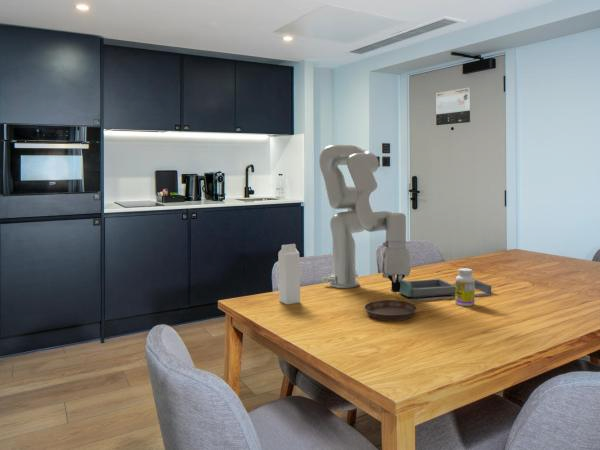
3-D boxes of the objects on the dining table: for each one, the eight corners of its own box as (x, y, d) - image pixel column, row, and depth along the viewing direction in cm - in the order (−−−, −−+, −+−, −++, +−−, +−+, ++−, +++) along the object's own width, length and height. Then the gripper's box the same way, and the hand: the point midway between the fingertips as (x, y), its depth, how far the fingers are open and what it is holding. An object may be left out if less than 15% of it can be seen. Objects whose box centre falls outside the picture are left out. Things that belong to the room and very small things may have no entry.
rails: (409, 301, 187) (409, 294, 187) (390, 290, 205) (390, 283, 205) (495, 295, 195) (495, 287, 195) (470, 284, 212) (470, 278, 212)
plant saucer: (382, 326, 160) (382, 316, 160) (354, 312, 177) (354, 303, 176) (427, 318, 168) (427, 309, 167) (397, 305, 184) (397, 297, 183)
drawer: (409, 299, 189) (409, 284, 189) (394, 291, 203) (394, 277, 202) (456, 296, 194) (457, 281, 193) (439, 288, 207) (439, 274, 207)
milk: (300, 302, 190) (299, 244, 187) (286, 304, 187) (285, 246, 184) (292, 298, 195) (292, 242, 193) (278, 301, 192) (277, 244, 190)
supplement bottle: (452, 301, 186) (452, 267, 185) (469, 301, 187) (470, 267, 186) (459, 306, 180) (460, 271, 178) (477, 306, 180) (478, 270, 179)
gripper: (381, 247, 188) (381, 295, 190) (418, 245, 191) (417, 292, 193) (374, 244, 196) (374, 290, 198) (410, 242, 199) (409, 288, 201)
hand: (395, 291), depth 195 cm, fingers closed
